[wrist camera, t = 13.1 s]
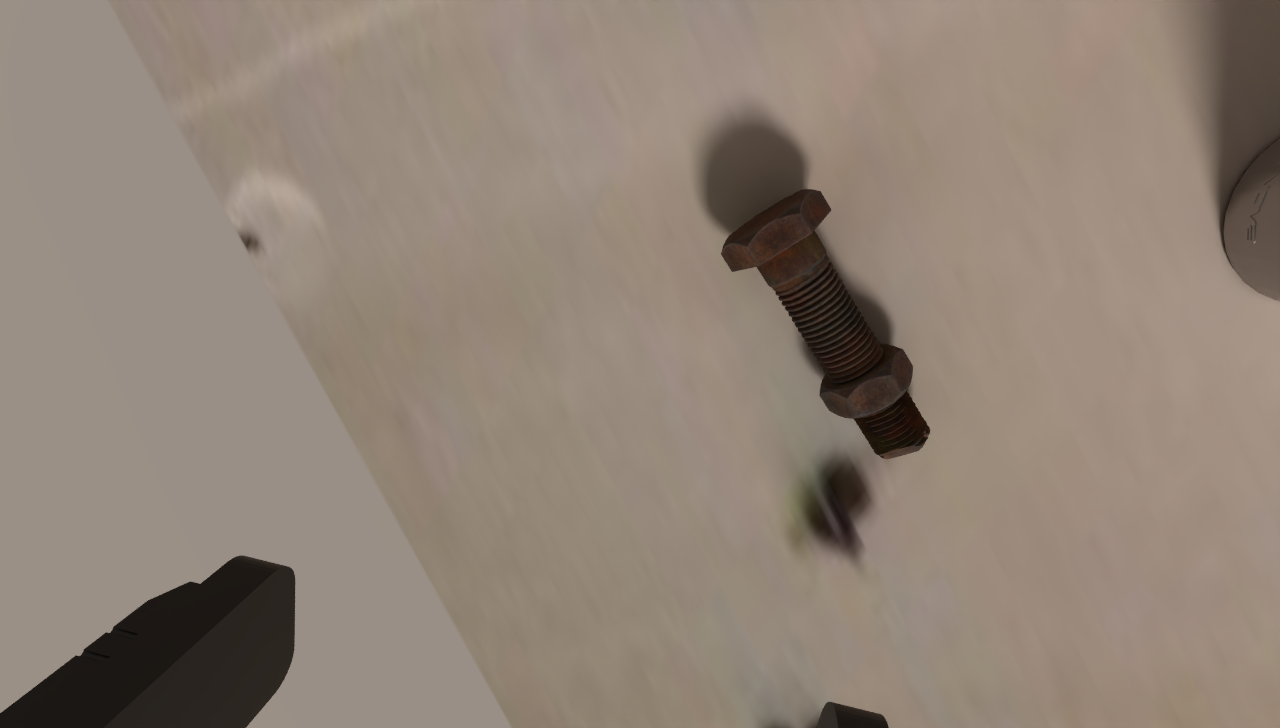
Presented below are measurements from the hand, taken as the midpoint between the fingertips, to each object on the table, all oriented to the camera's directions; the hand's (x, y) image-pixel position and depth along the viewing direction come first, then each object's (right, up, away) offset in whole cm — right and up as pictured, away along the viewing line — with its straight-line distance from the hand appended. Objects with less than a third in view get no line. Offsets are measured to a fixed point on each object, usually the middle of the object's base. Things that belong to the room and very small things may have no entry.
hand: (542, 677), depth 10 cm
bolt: (+12, +7, +28) cm, 32 cm away
